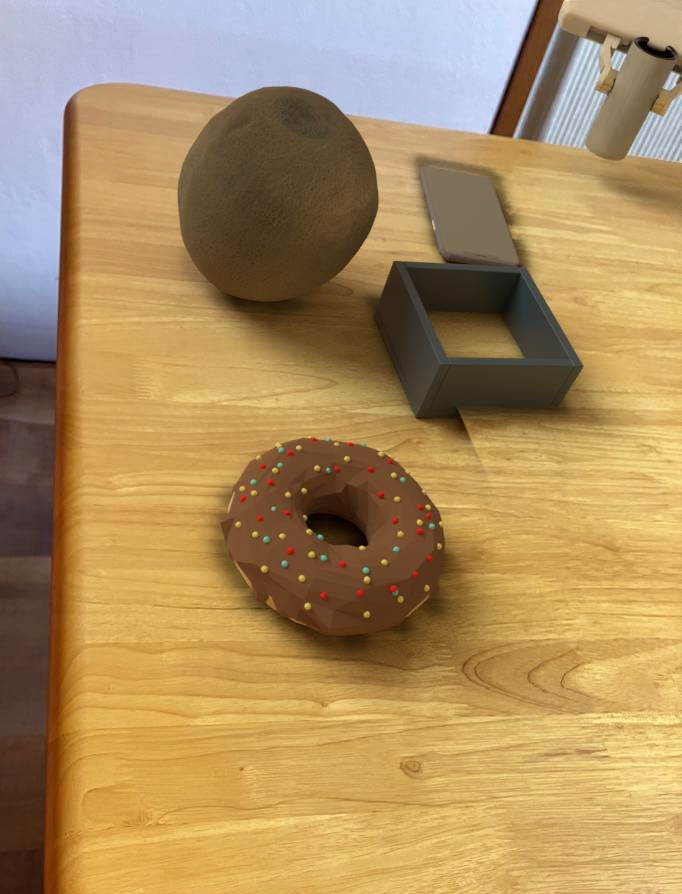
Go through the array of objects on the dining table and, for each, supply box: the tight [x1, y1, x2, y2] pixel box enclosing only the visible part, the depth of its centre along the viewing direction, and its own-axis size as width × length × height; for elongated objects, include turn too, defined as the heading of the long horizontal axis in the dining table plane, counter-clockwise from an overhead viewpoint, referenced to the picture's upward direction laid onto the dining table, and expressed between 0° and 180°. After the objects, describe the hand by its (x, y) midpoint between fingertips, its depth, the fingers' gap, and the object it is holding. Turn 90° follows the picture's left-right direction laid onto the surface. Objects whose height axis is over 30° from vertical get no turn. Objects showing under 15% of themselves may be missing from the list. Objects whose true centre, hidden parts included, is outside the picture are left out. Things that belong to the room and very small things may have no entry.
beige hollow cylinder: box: [584, 37, 679, 162], centre depth 88 cm, size 4×4×10 cm
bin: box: [373, 260, 585, 419], centre depth 68 cm, size 12×12×5 cm
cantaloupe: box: [176, 85, 380, 302], centre depth 65 cm, size 14×14×15 cm
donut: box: [219, 435, 446, 637], centre depth 53 cm, size 14×14×5 cm
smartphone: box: [419, 165, 521, 267], centre depth 83 cm, size 8×1×15 cm
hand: (630, 101), depth 88 cm, fingers closed on beige hollow cylinder, 4 cm apart
